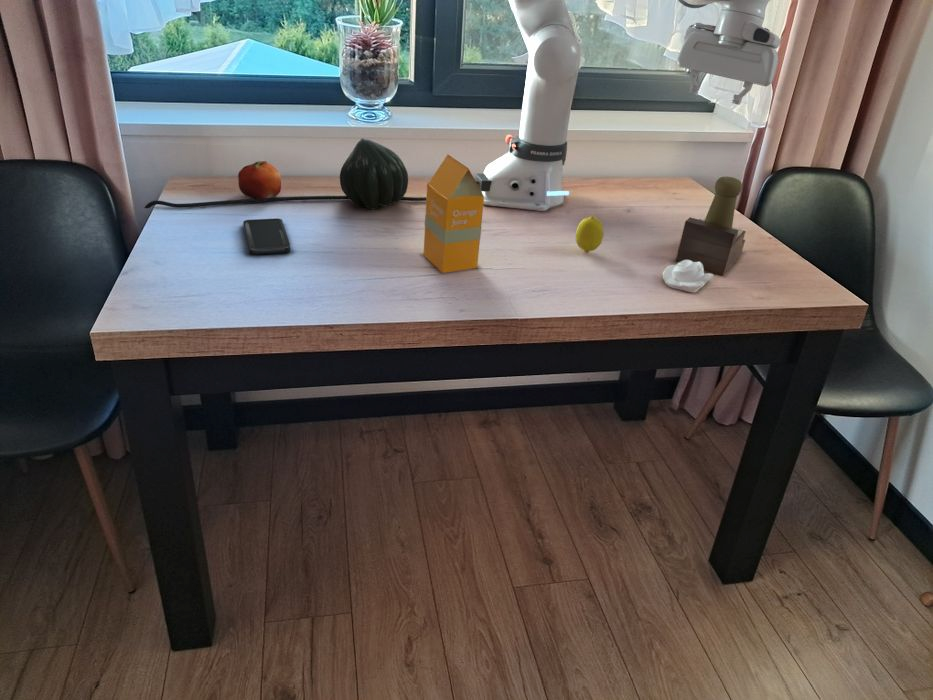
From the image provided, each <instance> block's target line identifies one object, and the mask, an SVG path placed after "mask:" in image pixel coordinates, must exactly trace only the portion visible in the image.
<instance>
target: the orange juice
mask: <svg viewBox="0 0 933 700" xmlns="http://www.w3.org/2000/svg"><path fill="white" fill-rule="evenodd" d="M446 154H447V155H446V156H445V158H444V159H443V161H441V164H440V165H439V167H438V168H437V169H436V171H435V173H434V174H433V176H432V177H431V178H430V180H429V181H428V183H427V184H426V197H427V199H426V201H425V202H426V203H425V215H424V236H423V237H424V238H423V239H424V240H423V256H424V257H425V258H426V259H427V260H428V261H429V262H430V263H431V264H433V266H435V268H437V269H438V270H439V271H440V272H441V273H442V274H445V273H446V274H447V273H453V272H459V271H466V270H472V269H478V263H479V253H480V245H481V244H480V242H481V236H482V221H483V212H484V205H483V202H484V197H485V196H484V195H483V193H482V191H481V189H480V188H479V186H478V184H477V183H476V181H475V178H474V177H475V176H473V174H472V172H471V170H470V169H469V167H467V166H466V165H465V164H463V163H461V162H460V161H458V160H457V159H455V158H454V157H452V156H451V155H450V154H448V153H446Z"/></svg>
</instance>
